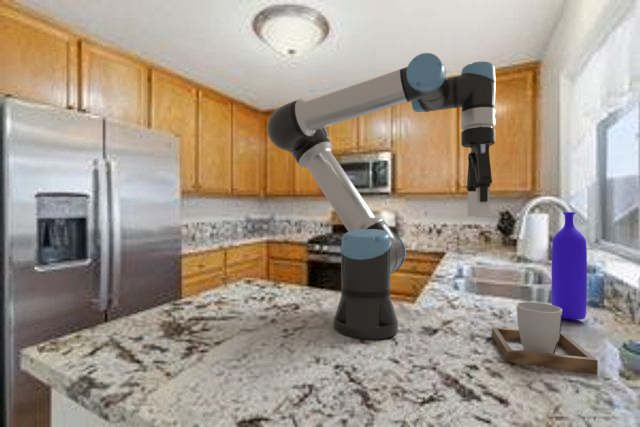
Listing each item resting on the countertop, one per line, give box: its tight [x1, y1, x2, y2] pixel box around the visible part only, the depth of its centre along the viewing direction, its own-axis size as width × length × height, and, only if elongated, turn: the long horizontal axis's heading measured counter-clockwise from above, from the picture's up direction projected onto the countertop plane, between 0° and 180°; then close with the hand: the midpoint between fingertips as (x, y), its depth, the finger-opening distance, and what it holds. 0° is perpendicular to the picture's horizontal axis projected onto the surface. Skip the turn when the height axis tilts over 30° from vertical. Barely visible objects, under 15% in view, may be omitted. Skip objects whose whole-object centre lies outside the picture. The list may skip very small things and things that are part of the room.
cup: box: [516, 301, 563, 354], centre depth 73 cm, size 8×8×10 cm
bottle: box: [551, 211, 588, 321], centre depth 101 cm, size 8×8×30 cm
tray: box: [491, 326, 598, 375], centre depth 74 cm, size 15×15×2 cm
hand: (477, 216), depth 85 cm, fingers open, 13 cm apart
